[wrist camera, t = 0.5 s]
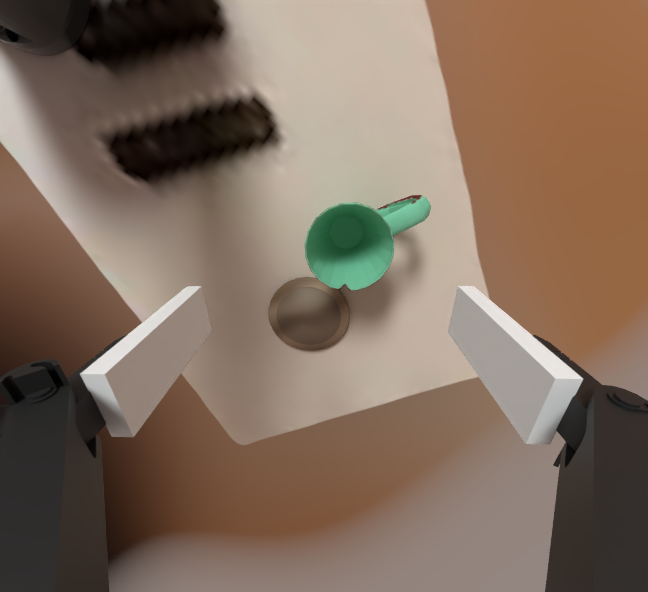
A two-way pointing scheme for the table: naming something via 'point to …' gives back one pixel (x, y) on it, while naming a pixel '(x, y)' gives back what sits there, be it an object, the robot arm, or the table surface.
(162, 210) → the table surface
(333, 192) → the table surface
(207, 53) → the table surface
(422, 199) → the mug
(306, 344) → the plate
